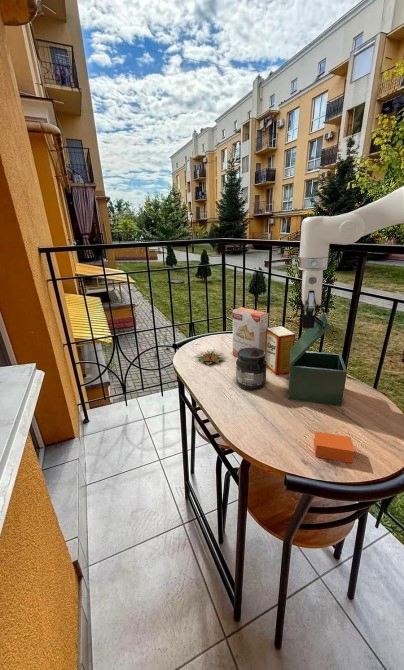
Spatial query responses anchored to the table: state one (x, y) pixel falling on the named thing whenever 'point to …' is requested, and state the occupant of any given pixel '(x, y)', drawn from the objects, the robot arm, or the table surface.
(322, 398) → the bin
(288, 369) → the baking soda box
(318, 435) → the block
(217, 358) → the green red plant
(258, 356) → the supplement container
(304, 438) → the table surface
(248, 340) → the cracker box
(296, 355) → the bin lid
